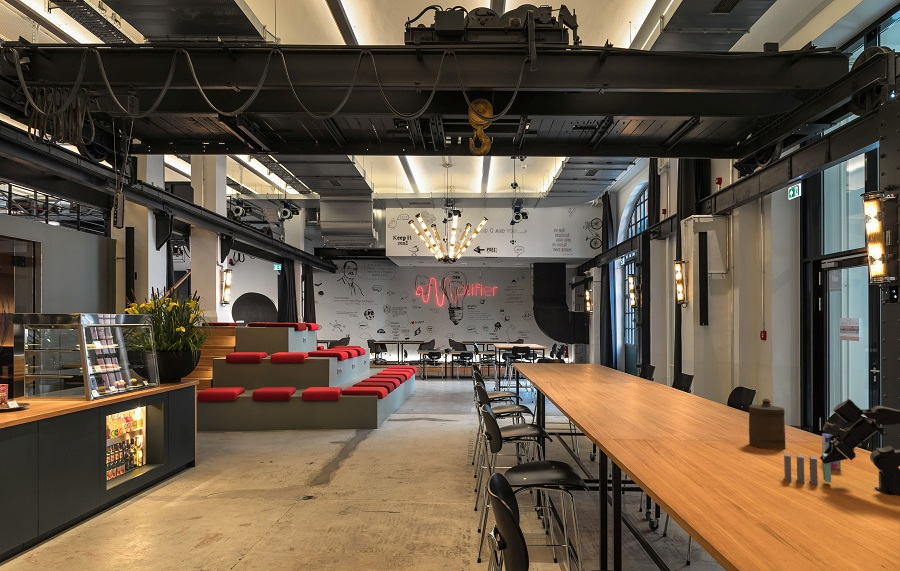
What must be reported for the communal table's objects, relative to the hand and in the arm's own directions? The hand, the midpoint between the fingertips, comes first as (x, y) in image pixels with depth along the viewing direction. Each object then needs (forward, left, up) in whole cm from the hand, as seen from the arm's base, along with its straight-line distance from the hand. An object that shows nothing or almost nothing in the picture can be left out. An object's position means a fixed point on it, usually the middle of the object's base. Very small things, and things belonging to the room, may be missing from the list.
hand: (821, 461), depth 197 cm
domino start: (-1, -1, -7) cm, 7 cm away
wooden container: (+62, -9, -8) cm, 63 cm away
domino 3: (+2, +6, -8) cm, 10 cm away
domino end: (+4, +10, -8) cm, 13 cm away
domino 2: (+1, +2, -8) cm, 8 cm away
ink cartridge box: (+27, -18, -8) cm, 33 cm away
